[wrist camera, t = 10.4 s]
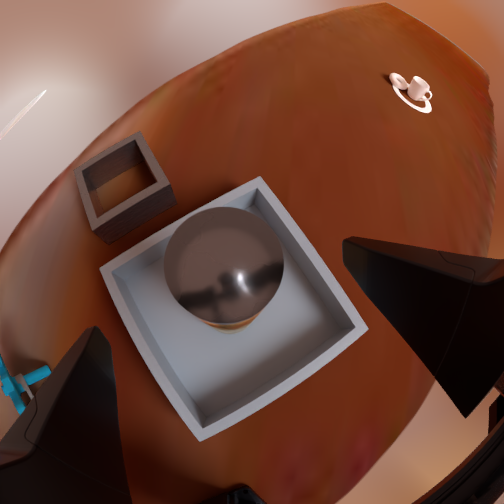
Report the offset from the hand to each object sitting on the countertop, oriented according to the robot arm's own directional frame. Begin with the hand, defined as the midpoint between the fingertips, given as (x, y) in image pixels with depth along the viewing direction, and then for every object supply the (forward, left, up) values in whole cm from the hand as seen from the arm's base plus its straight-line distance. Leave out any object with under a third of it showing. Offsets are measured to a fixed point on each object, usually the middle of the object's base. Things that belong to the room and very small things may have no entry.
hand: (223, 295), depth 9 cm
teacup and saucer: (+15, -45, -14) cm, 50 cm away
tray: (+1, -1, -13) cm, 14 cm away
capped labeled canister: (+1, 0, -13) cm, 13 cm away
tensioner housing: (+15, +2, -13) cm, 21 cm away
